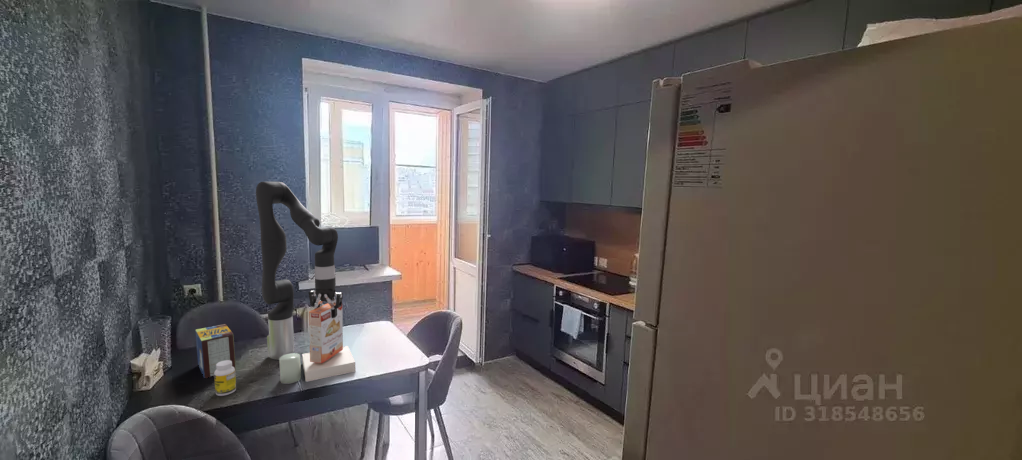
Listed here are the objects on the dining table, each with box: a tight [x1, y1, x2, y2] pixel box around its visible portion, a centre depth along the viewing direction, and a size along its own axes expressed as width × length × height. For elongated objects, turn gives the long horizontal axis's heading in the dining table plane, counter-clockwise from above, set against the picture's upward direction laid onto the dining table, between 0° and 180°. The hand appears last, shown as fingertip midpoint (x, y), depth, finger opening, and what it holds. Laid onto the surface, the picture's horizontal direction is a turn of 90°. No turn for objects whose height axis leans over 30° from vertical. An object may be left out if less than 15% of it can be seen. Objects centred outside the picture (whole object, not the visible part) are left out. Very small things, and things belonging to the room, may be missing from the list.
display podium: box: [301, 345, 356, 382], centre depth 167 cm, size 18×18×4 cm
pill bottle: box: [213, 360, 237, 397], centre depth 146 cm, size 6×6×11 cm
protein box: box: [194, 323, 237, 379], centre depth 164 cm, size 10×15×16 cm
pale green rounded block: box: [278, 352, 302, 385], centre depth 157 cm, size 7×7×9 cm
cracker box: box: [308, 302, 344, 363], centre depth 166 cm, size 14×6×21 cm, turn 169°
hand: (326, 316), depth 165 cm, fingers closed on cracker box, 6 cm apart
